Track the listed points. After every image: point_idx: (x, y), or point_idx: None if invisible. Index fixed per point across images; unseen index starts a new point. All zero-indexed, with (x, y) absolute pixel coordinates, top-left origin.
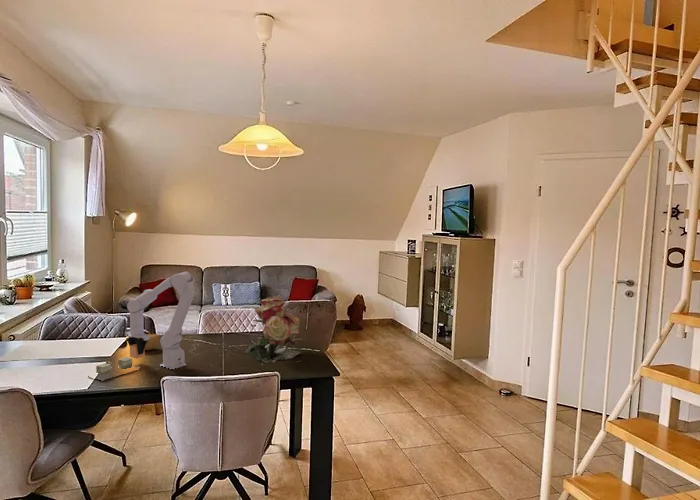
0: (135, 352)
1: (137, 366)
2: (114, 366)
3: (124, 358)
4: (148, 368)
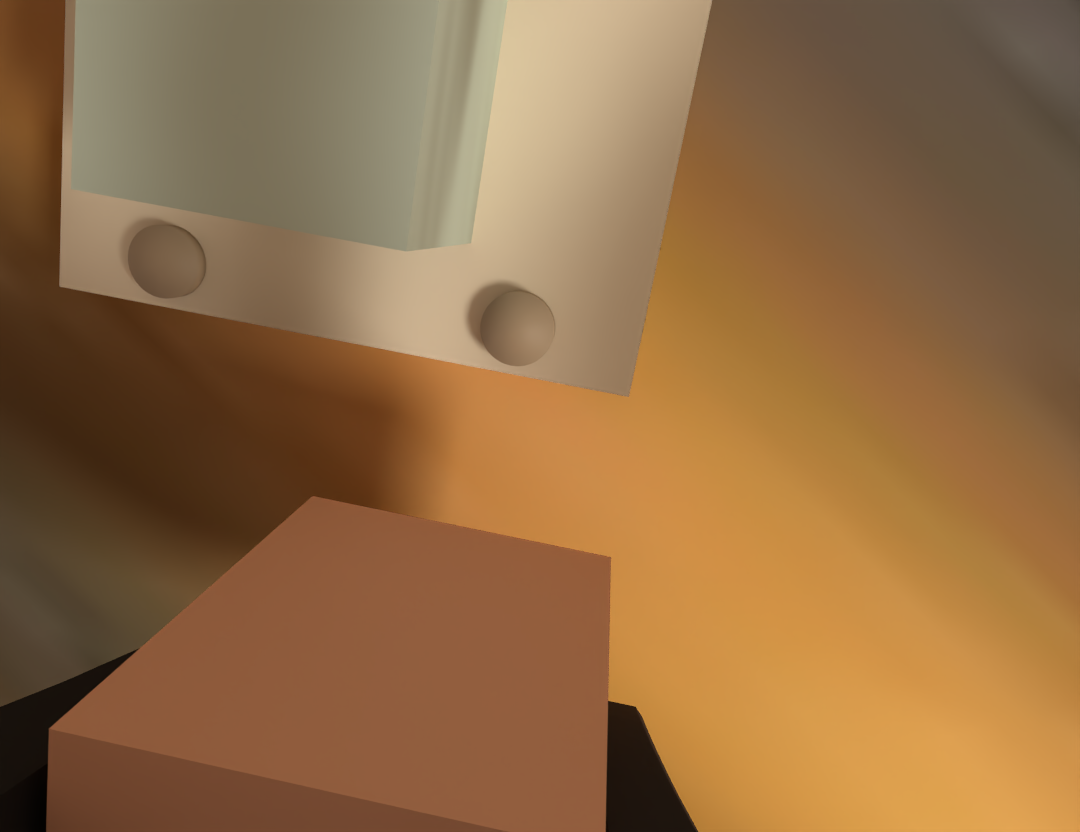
0: (251, 589)
1: (138, 278)
2: (863, 192)
3: (327, 66)
4: (10, 408)
